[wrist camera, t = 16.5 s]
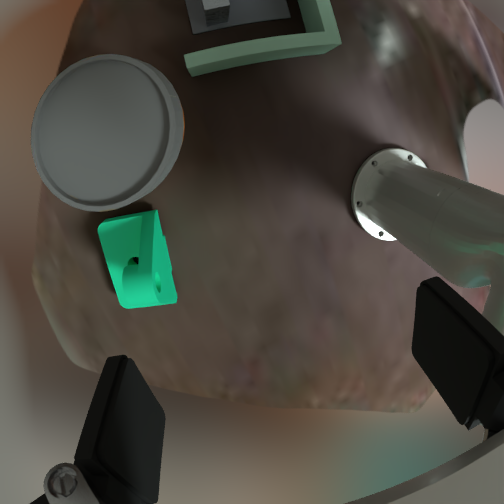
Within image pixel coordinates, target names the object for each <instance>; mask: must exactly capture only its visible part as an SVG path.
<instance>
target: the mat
mask: <svg viewBox="0 0 504 504" xmlns="http://www.w3.org/2000/svg"><path fill="white" fill-rule="evenodd" d="M185 2H186V6H187V10H188V14H189V19H190V23H191V27H192V31H193V35H195V34H199V33H203V32H207V31H212V30H217V29H221V28H226V27H232V26H237V25H243V24H249V23H255V22H262V21H269V20H277V19H286V18H291V16H290V13H289V9H288V6H287V2H286V0H229V3H230V11H229V20H228V22H227V23H222V24H217V25H212V26H208V27H207V26H206V22H205V18H204V14H203V10H202V6H201V2H200V0H185Z"/></svg>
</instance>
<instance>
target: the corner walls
mask: <svg viewBox="0 0 504 504" xmlns="http://www.w3.org/2000/svg"><path fill="white" fill-rule="evenodd" d="M298 4H299V7H300V11H301V14H302V18H303V21H304V25H305V29H306V32H307V33H302V34H292V35H283V36H276V37H268V38H262V39H255V40H249V41H244V42H238V43H233V44H228V45H223V46H218V47H214V48H210V49H205V50H201V51H197V52H193V53H189V54H185V55H184V58H185V62H186V66H187V69H188V71H189V73H190V74H191V76H192V77H194V76H198V75H202V74H206V73H210V72H214V71H219V70H223V69H228V68H233V67H237V66H242V65H248V64H253V63H259V62H265V61H271V60H277V59H284V58H292V57H300V56H309V55H318V54H325V53H327V52H328V51H330V50H332V49H333V48H335V47H337V46H339V45H340V44H342V43H341V39H340V35H339V31H338V27H337V24H336V20H335V17H334V13H333V10H332V6H331V3H330V0H298Z"/></svg>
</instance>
